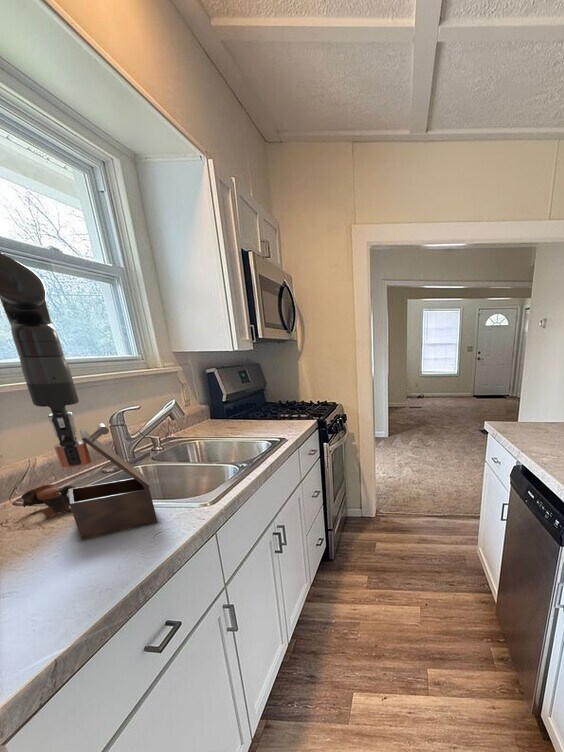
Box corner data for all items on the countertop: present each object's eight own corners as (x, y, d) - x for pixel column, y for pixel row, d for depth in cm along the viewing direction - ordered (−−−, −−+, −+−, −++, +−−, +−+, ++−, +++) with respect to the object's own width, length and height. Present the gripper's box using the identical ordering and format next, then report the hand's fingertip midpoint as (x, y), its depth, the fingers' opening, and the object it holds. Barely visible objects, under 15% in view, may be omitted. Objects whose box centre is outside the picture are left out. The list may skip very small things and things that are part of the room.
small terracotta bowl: (66, 468, 84) (59, 447, 82) (55, 464, 87) (49, 444, 85) (96, 462, 88) (90, 442, 86) (85, 459, 91) (79, 439, 89)
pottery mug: (34, 523, 101) (13, 495, 99) (41, 527, 109) (21, 501, 107) (85, 500, 107) (66, 473, 105) (89, 505, 115) (71, 480, 113)
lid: (81, 439, 85) (100, 423, 86) (79, 430, 95) (96, 416, 96) (147, 488, 96) (163, 473, 97) (139, 476, 105) (154, 462, 106)
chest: (81, 539, 91) (69, 503, 87) (79, 522, 100) (68, 488, 97) (157, 522, 99) (149, 489, 96) (149, 507, 109) (141, 476, 105)
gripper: (72, 381, 77) (97, 466, 84) (72, 377, 88) (94, 452, 95) (22, 384, 73) (52, 472, 80) (28, 379, 84) (54, 457, 91)
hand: (75, 461), depth 87 cm, fingers closed on small terracotta bowl, 5 cm apart
